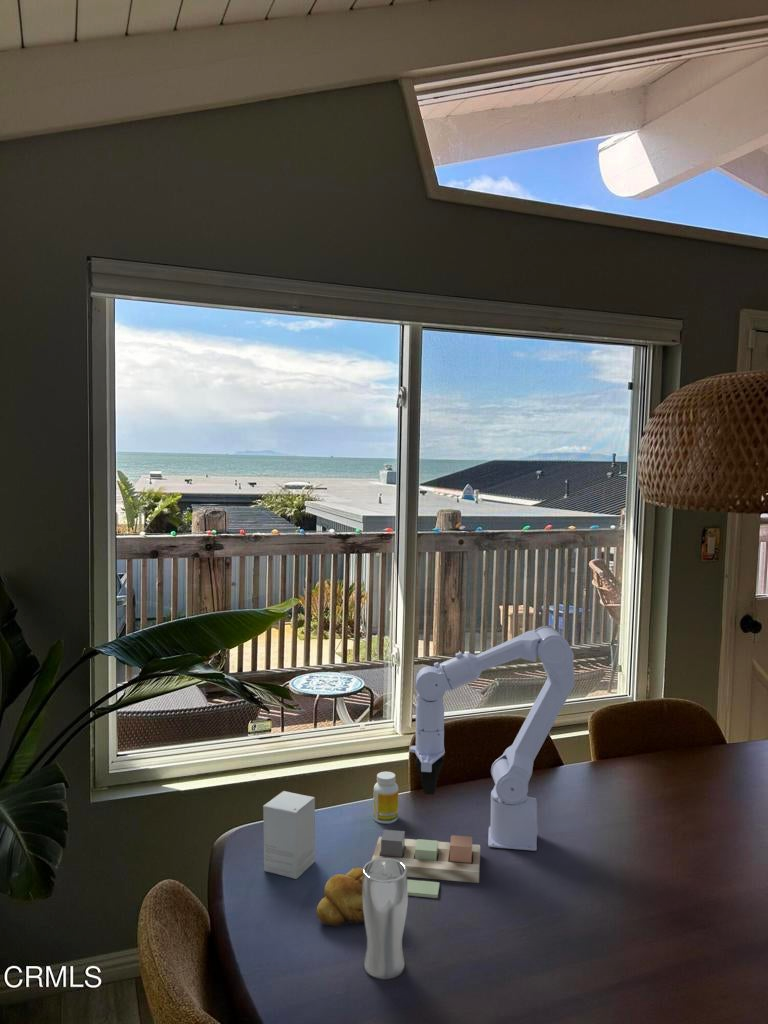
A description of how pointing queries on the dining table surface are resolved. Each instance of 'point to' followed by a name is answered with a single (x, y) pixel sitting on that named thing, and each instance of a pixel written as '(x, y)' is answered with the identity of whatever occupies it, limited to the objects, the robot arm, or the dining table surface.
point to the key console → (436, 863)
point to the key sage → (426, 850)
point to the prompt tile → (423, 888)
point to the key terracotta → (461, 849)
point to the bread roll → (342, 899)
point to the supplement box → (289, 834)
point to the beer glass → (384, 916)
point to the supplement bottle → (385, 798)
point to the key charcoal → (393, 843)
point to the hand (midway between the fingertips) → (429, 793)
